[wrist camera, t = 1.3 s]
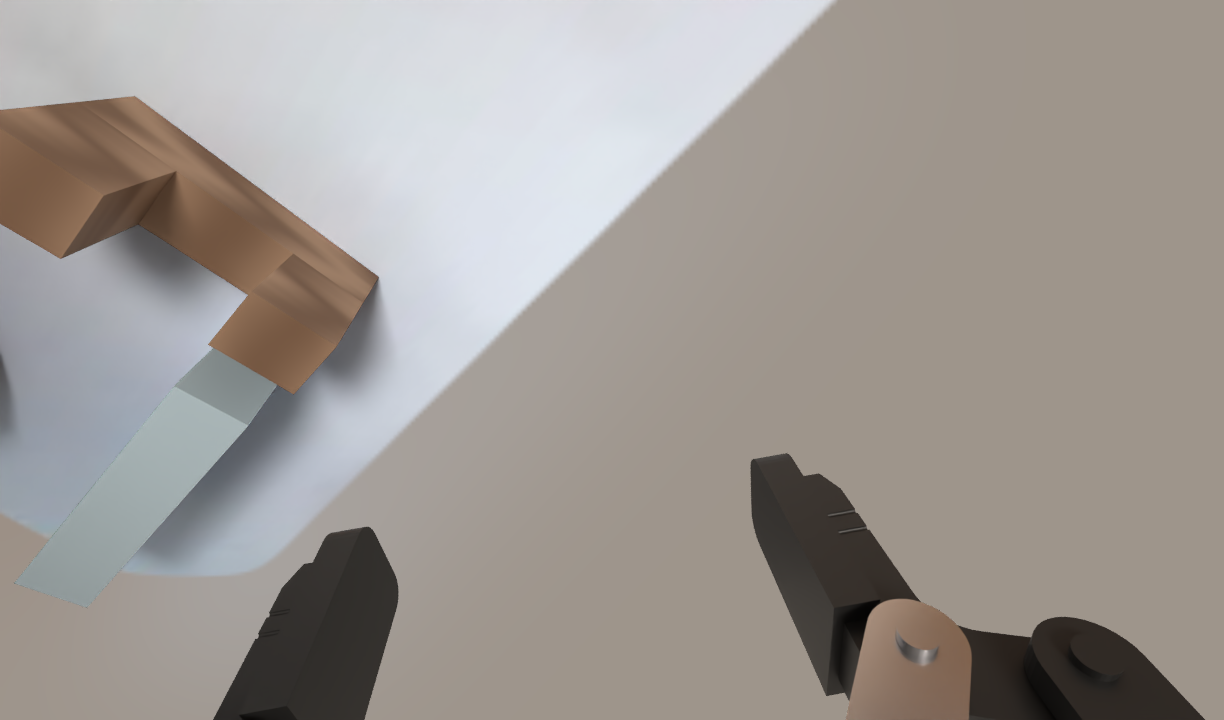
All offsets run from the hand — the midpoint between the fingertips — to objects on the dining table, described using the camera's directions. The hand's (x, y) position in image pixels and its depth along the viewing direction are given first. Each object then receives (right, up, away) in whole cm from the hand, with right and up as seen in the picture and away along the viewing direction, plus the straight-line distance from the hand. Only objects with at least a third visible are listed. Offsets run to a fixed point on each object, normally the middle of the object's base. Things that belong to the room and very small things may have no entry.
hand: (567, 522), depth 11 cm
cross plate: (-22, +1, +19) cm, 29 cm away
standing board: (-17, +10, +15) cm, 25 cm away
